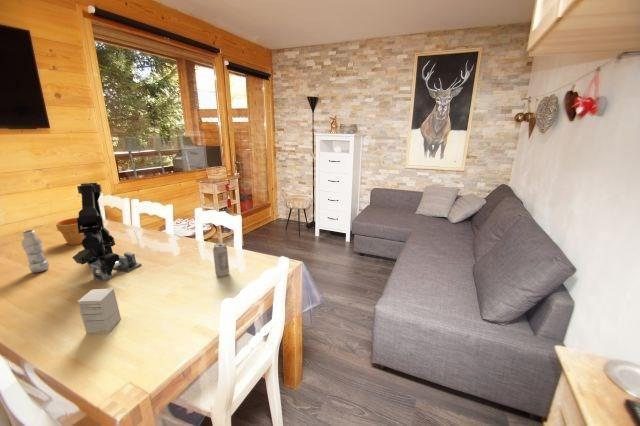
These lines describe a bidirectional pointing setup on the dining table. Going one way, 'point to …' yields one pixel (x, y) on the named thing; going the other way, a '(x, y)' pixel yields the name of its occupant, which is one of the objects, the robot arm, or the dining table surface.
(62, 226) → the flower pot
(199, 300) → the dining table surface
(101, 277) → the hollow rectangular metal block
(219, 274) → the energy drink can
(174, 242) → the dining table surface
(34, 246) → the plastic bottle
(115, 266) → the shaft stand
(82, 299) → the supplement box
